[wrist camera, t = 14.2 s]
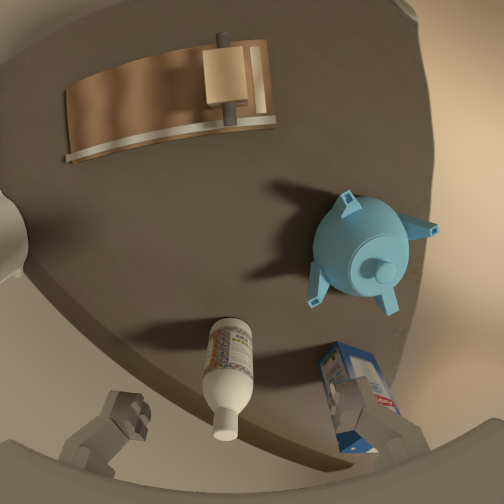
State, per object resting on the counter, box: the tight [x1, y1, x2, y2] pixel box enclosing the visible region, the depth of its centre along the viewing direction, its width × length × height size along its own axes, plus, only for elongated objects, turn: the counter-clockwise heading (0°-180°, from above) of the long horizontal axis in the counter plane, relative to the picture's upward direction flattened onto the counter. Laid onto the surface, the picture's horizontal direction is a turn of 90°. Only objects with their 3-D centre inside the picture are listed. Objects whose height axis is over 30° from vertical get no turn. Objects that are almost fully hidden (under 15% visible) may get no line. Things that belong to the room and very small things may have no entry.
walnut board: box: [66, 39, 276, 164], centre depth 29 cm, size 28×12×4 cm, turn 95°
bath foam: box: [202, 318, 253, 441], centre depth 36 cm, size 7×7×20 cm
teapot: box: [307, 189, 439, 316], centre depth 34 cm, size 15×15×11 cm
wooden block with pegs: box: [203, 32, 248, 126], centre depth 26 cm, size 4×11×6 cm, turn 5°
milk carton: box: [317, 342, 401, 453], centre depth 40 cm, size 10×6×20 cm, turn 62°
